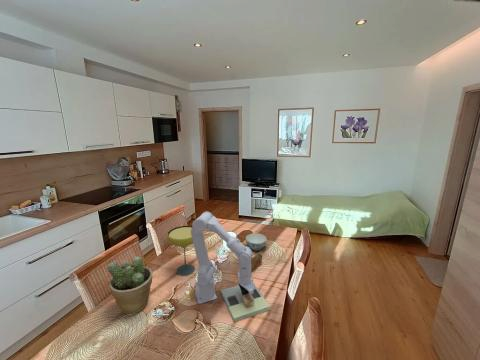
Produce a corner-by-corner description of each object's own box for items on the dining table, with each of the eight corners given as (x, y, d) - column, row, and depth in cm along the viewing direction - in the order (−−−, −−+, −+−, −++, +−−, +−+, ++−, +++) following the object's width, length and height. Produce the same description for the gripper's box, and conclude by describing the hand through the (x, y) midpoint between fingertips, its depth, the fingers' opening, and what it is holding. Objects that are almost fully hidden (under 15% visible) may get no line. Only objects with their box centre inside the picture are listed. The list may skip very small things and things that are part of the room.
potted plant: (143, 287, 119) (139, 245, 113) (162, 303, 107) (158, 257, 102) (106, 307, 105) (99, 260, 99) (124, 329, 93) (116, 277, 88)
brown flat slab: (248, 275, 128) (248, 262, 126) (244, 273, 130) (244, 260, 128) (262, 263, 140) (262, 251, 138) (258, 261, 142) (258, 250, 140)
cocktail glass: (164, 270, 133) (161, 232, 128) (190, 258, 146) (188, 223, 140) (180, 284, 121) (177, 242, 115) (206, 270, 133) (205, 232, 128)
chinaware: (267, 253, 151) (267, 243, 149) (245, 253, 151) (245, 243, 149) (265, 242, 165) (265, 233, 164) (245, 242, 166) (245, 233, 164)
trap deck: (234, 322, 97) (234, 318, 96) (221, 293, 114) (221, 290, 113) (269, 309, 103) (269, 306, 103) (252, 284, 121) (252, 281, 120)
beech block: (245, 308, 102) (245, 301, 101) (242, 302, 105) (242, 295, 105) (253, 305, 103) (253, 298, 102) (250, 299, 107) (250, 292, 106)
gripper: (259, 279, 99) (259, 305, 102) (246, 262, 112) (246, 285, 115) (245, 283, 97) (245, 310, 99) (233, 265, 110) (233, 289, 113)
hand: (245, 297), depth 107 cm, fingers closed
